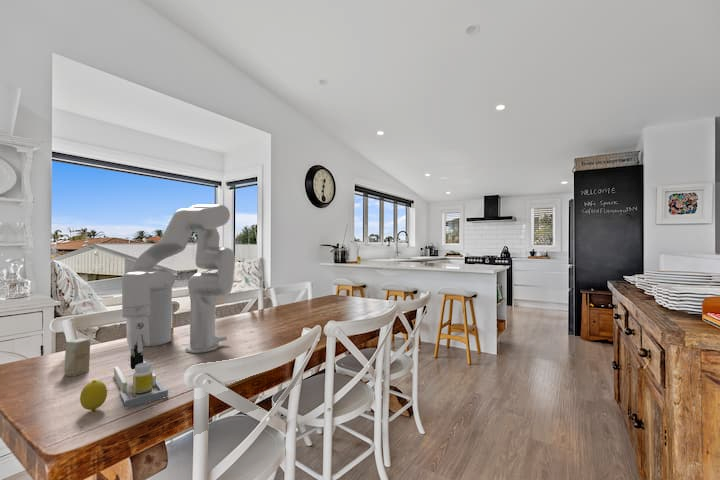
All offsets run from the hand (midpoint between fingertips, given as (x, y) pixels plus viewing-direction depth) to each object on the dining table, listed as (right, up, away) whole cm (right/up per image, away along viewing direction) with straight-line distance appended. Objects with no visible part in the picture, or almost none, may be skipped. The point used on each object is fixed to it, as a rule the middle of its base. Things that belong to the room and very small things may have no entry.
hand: (136, 367), depth 107 cm
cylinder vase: (-19, -4, +39) cm, 44 cm away
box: (-23, -4, +5) cm, 24 cm away
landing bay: (+9, -4, -11) cm, 15 cm away
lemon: (+2, -4, -20) cm, 20 cm away
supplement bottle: (+8, -4, -9) cm, 13 cm away
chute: (-1, -4, 0) cm, 4 cm away
